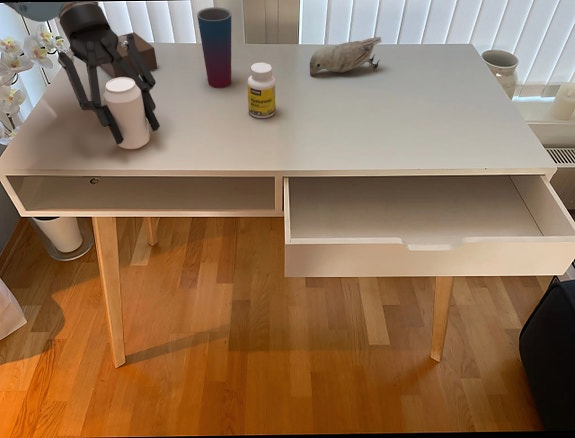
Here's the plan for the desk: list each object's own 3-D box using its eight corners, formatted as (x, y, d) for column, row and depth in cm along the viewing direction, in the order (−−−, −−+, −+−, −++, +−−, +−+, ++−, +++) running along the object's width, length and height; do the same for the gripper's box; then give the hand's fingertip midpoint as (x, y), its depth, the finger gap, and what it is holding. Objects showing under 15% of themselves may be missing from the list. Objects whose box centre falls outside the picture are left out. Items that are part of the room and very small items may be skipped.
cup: (202, 89, 109) (194, 20, 99) (206, 74, 114) (199, 6, 104) (234, 90, 109) (229, 21, 99) (236, 75, 114) (232, 7, 104)
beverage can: (124, 131, 98) (110, 73, 89) (155, 135, 97) (144, 77, 89) (110, 150, 93) (94, 91, 85) (143, 154, 92) (130, 95, 84)
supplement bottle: (247, 118, 102) (245, 73, 95) (249, 104, 105) (248, 59, 99) (274, 119, 101) (274, 74, 95) (276, 105, 105) (276, 60, 99)
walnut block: (116, 81, 111) (111, 59, 108) (97, 64, 117) (92, 43, 114) (157, 68, 116) (154, 47, 113) (138, 52, 122) (134, 32, 118)
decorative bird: (306, 70, 117) (307, 38, 112) (371, 63, 120) (376, 32, 115) (313, 81, 113) (315, 49, 108) (380, 74, 116) (385, 42, 111)
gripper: (127, 10, 96) (181, 123, 98) (22, 36, 87) (84, 159, 89) (134, -10, 90) (192, 111, 92) (22, 15, 81) (88, 149, 83)
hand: (138, 135), depth 90 cm, fingers closed on beverage can, 6 cm apart
